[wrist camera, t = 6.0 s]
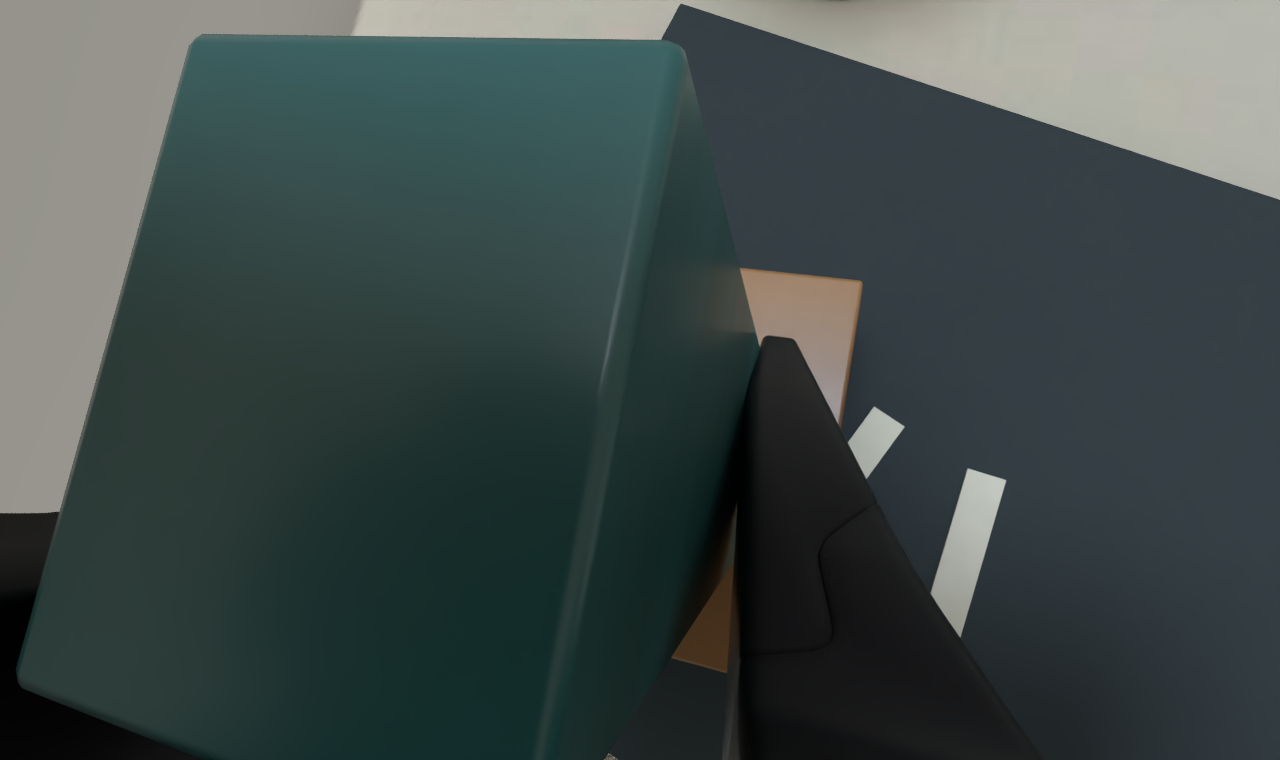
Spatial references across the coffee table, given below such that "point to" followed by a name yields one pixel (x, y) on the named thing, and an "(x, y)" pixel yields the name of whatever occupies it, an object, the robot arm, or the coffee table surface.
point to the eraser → (417, 406)
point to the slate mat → (1026, 394)
